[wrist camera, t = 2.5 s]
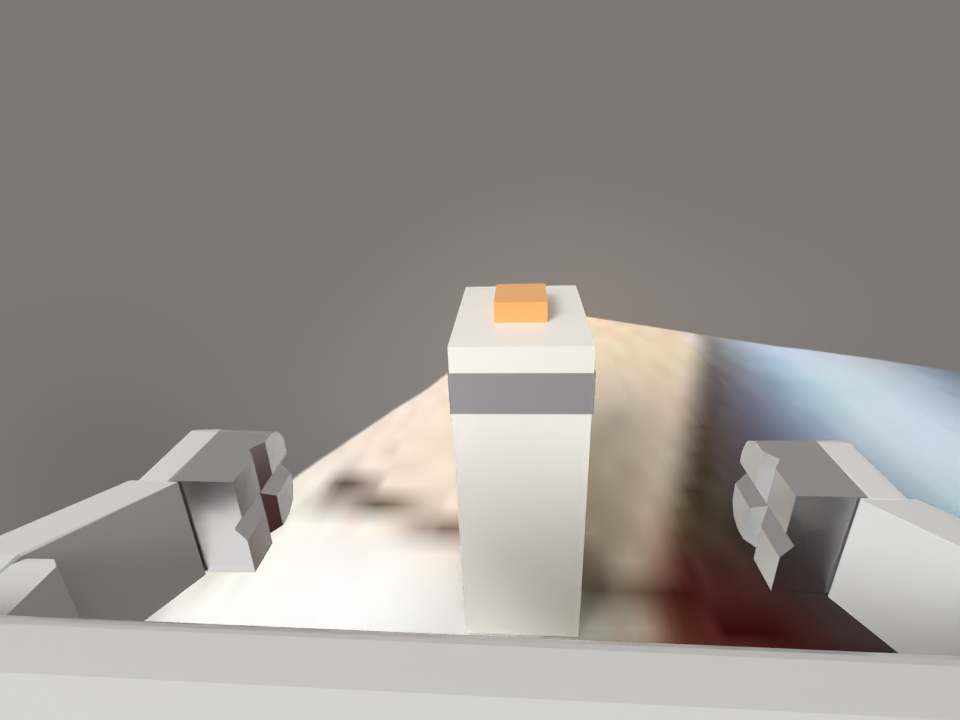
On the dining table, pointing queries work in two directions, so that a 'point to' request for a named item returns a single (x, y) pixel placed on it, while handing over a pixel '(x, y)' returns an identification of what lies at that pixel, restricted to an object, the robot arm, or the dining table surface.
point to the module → (522, 455)
